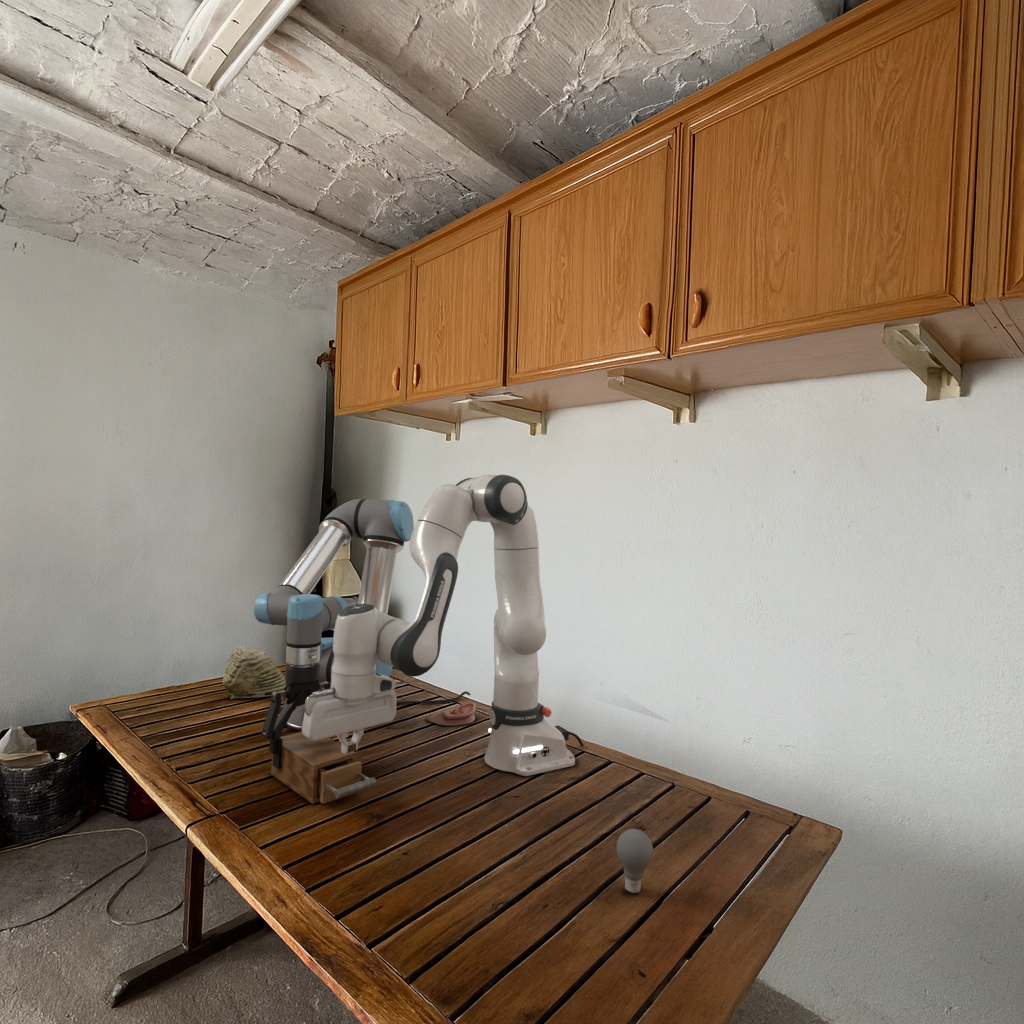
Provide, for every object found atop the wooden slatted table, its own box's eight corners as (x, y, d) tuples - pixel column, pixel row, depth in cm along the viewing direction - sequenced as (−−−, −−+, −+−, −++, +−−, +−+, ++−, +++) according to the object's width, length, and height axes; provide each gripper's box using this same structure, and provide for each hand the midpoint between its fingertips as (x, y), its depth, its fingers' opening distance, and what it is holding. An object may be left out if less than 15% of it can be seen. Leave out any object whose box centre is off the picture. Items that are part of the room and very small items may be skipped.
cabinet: (354, 789, 138) (356, 752, 138) (312, 804, 130) (314, 765, 130) (311, 762, 151) (313, 728, 150) (271, 774, 143) (272, 739, 143)
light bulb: (610, 879, 108) (613, 822, 108) (644, 879, 109) (647, 822, 109) (619, 902, 102) (622, 840, 102) (655, 901, 103) (658, 840, 103)
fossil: (218, 695, 195) (220, 647, 195) (278, 685, 208) (279, 640, 207) (228, 703, 189) (230, 653, 188) (289, 692, 201) (290, 645, 201)
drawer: (375, 800, 131) (376, 770, 131) (337, 814, 125) (338, 783, 125) (319, 764, 147) (320, 738, 147) (282, 775, 141) (283, 748, 141)
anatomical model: (423, 709, 179) (436, 697, 190) (423, 723, 179) (436, 710, 190) (469, 714, 176) (479, 702, 188) (468, 728, 177) (478, 715, 188)
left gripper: (262, 675, 133) (258, 780, 134) (355, 659, 150) (351, 752, 150) (246, 667, 138) (243, 768, 139) (338, 652, 155) (335, 743, 155)
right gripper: (314, 697, 120) (310, 769, 120) (402, 680, 135) (398, 744, 135) (298, 689, 124) (294, 759, 125) (385, 673, 139) (381, 735, 139)
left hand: (299, 760), depth 145 cm, fingers closed on cabinet, 10 cm apart
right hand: (349, 751), depth 130 cm, fingers closed
